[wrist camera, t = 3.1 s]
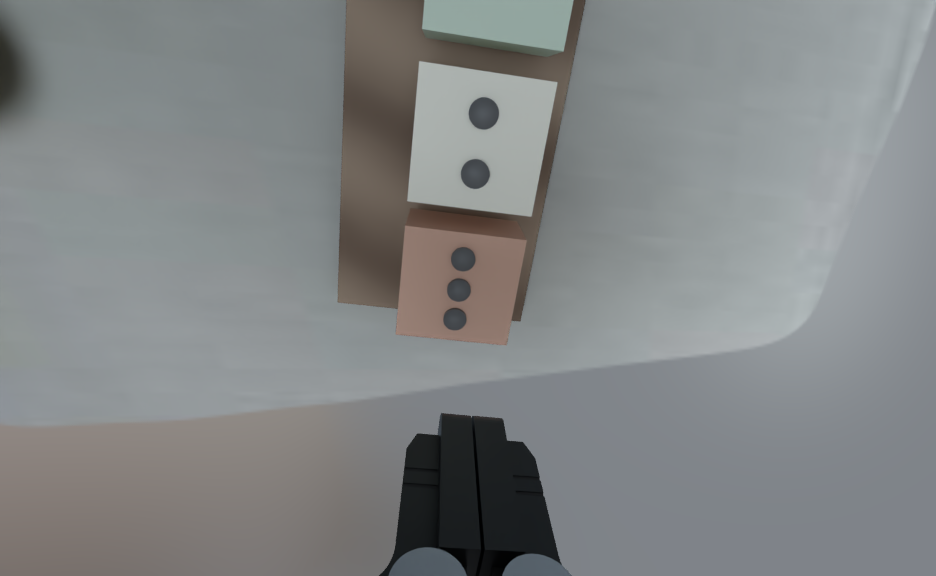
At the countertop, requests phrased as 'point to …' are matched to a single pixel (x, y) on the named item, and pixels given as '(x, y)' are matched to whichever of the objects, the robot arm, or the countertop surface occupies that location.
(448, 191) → the key two
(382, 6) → the board
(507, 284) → the key three
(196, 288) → the countertop surface
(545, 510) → the robot arm
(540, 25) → the key one
